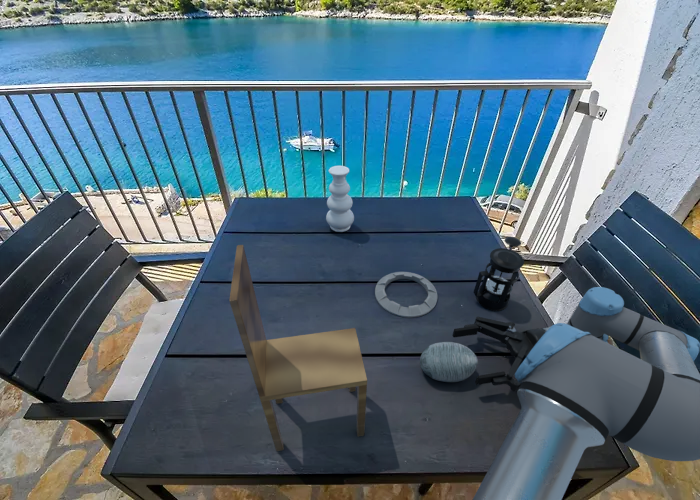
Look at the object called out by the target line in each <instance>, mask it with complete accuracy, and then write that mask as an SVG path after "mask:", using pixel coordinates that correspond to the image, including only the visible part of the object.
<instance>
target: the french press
mask: <svg viewBox="0 0 700 500" xmlns="http://www.w3.org/2000/svg"><path fill="white" fill-rule="evenodd" d="M504 242H505V244H506V245H508V246H509V248H502V247H500V248H499V247H498V248H495V249H493V250H492V251H491V252H490V254H489V259H490V260H489V262H488V263H487V265H486V266H485V270H481V271H479V273H478V276H477V279H476V282H475V286H474V289H473V292H472V293H473V295H474V296H475V297H476V298H475V299H476V301H477V303H478V304H479V305H480V306H481V307H483V308H484V309H486V310H488V311H491V312H502V311H504V310H506V309H507V308H508V306H509V301H510V299H511V292H513V287H514V284H516V283H517V282H518V279H519V277H520V272H519V271H520V269H521V268H523V266H524V264H525V259H524V258H523V256H522V255H521V254H520V253H518V252H517V251H515V250H513V249H512V248H514V247H520V246H521V245H522V241H521V240H520V239H519V238H517V237H514V236H507V237H505V238H504ZM489 267H490V269H489V271H488V268H489ZM496 271H499V272H500V274H499V275H495V274H496ZM503 273H504V274H511V277H510V279H509V280H507V279H506V278H504V277H503V276H502V275H503ZM485 292H488V293H489V294H491V295H494V296H497V297H499V300H498V302H495V301H492V300H489V299H488V298H486V297H485V296H484V293H485Z"/></svg>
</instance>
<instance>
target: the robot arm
mask: <svg viewBox="0 0 700 500" xmlns="http://www.w3.org/2000/svg"><path fill="white" fill-rule="evenodd" d="M624 305H625V301H624V299H623V297H622V296H621V295H620V294H619V293H618V294H617V293H616V292H615V291H614V290H612V289H611V288H607V287H604V286H593V287H591V288H589V289H588V290H587V291H586V292H585V293H584V295H583V296H582V297H581V299H580V301H579V302H578V304H577V306H576V308H575V309H574V311H573V313H572V315H571V316H570V318H569V320H568V321H567V323H564V322H557V323H554V324H552V325H551V326H548V327H542V328H534V329H533V328H532V329H527V330H524V331H517V329H516V328H515V327H516V323H515V322H514V321H507V322H505V321H501V320H496V319H492V318H486V317H481V316H476V317H475V319H474V322H473V323H469V324H465V325H464V326H463V327H457V328H456V327H455V328H454V329H453V332H452V334H451V335H452V338H461V337H467V336H468V337H469V336H474V335H475V336H476V335H478V334H479V333H480V334H482V335H484V336H487V337H489V338H492V339H494V340H497V341H499V342H500V343H501V344H503V345H505V348H506V349H507V350H508V351H509V354H510V355H511V356H512V357H514V358H515V360H514V361H513V363H512V365H511V367H510V368H509V370H508V372H507V374H506V372H505V371H498V372H492V373H486V374H479V375H477V376H476V379H475V385H476V386H479V385H485V384H490V383H491V384H492V386H500V385H501V386H502V385H508V386H509V387H510V390H511V391H513V392H516V391H517V392H516V395H517V398H518V401H519V403H520V408H521V409H520V410H519V412H518V415H517V416H516V418H515V420H514V422H513V424H512V425H511V427H510V429H509V431H508V433H507V434H506V437H505V438H504V440H503V442H502V444H501V446H500V447H499V450H498V451H497V453H496V455H495V457H494V459H493V460H492V462H491V464H490V466H489V468H488V470H487V472H486V473H485V476H484V477H483V479H482V481H481V482H480V485H479V487H478V488H477V490H476V492H475V493H474V496H473V497H472V500H563V499H564V498H563V497H564V495H565V494H566V491H567V489H568V487H569V484H570V482H571V480H572V478H573V476H574V474H575V471H576V470H577V467H578V465H579V463H580V461H581V459H582V456H583V454H584V452H585V450H586V449H587V448H593V447H598V446H603V445H605V443H606V440H607V438H608V436H609V437H611V438H612V439H614V440H616V441H618V442H619V443H621V444H623V445H625V446H626V447H628V448H629V449H631V450H633V451H636V452H638V453H640V454H643V455H645V456H647V457H651V458H653V459H658V460H663V461H671V462H695V461H698V460H700V371H699V370H698V367H697V366H696V364H695V360H696V359H697V357H698V355H699V353H700V341H699V340H698V339H697V338H695V337H693V336H691V335H689V334H687V333H686V332H684V331H682V330H680V329H676V328H673V327H671V326H668V325H666V324H664V323H662V322H659V321H657V320H654V319H652V318H649V317H647V316H645V315H643V314H640V313H638V312H636V311H633V310H632V309H630V308H626V307H625V306H624ZM506 338H507V339H506ZM609 338H612V339H614V340H616V341H619V342H620V343H622V344H625V345H627V346H629V347H631V348H633V349H634V350H637V351H638V352H639V356H640V358H639V357H637V356H635V355H633V354H631V353H628V352H627V351H625V350H623V349H620V348H618V347H616V346H614V345H613V344H610V343H609ZM514 378H515V379H514Z"/></svg>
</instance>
